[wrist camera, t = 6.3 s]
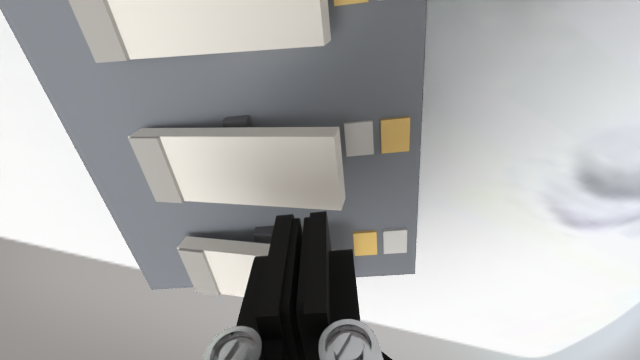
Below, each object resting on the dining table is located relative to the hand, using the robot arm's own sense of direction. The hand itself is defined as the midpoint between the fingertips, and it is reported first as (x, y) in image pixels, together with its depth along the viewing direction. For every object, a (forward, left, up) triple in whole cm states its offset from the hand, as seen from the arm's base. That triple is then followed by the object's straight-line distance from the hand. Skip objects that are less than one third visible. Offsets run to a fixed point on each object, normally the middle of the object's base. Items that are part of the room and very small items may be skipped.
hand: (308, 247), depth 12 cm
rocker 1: (+4, -8, -5) cm, 10 cm away
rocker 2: (+4, -1, -5) cm, 6 cm away
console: (+4, -1, -12) cm, 13 cm away
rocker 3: (+4, +6, -5) cm, 9 cm away
